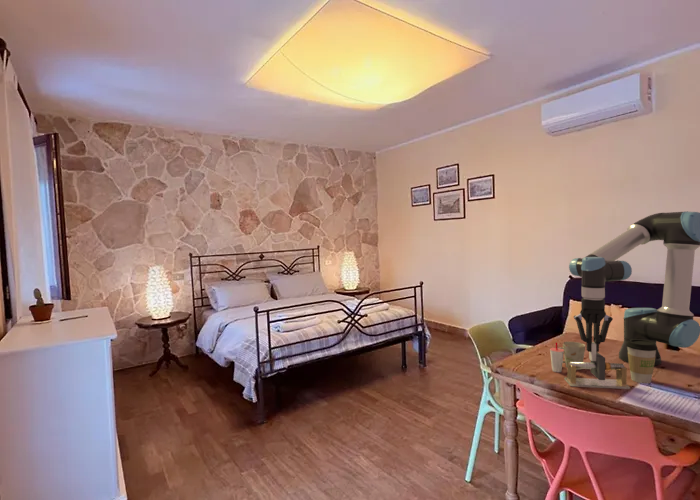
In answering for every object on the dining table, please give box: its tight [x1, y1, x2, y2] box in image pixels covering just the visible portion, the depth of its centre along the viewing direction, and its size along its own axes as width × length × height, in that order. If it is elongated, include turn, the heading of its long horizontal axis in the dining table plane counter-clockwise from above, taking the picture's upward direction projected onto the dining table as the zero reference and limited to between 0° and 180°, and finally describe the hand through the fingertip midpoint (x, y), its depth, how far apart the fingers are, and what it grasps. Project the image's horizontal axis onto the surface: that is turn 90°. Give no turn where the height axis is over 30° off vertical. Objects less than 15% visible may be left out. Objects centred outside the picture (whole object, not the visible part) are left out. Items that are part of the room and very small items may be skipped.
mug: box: [558, 341, 586, 371], centre depth 171 cm, size 8×13×10 cm, turn 78°
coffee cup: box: [626, 339, 659, 384], centre depth 155 cm, size 10×10×15 cm
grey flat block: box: [590, 352, 606, 380], centre depth 152 cm, size 2×8×8 cm, turn 169°
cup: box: [549, 342, 564, 373], centre depth 167 cm, size 5×5×12 cm
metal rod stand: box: [563, 361, 631, 390], centre depth 152 cm, size 20×7×8 cm, turn 79°
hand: (592, 359), depth 152 cm, fingers closed
